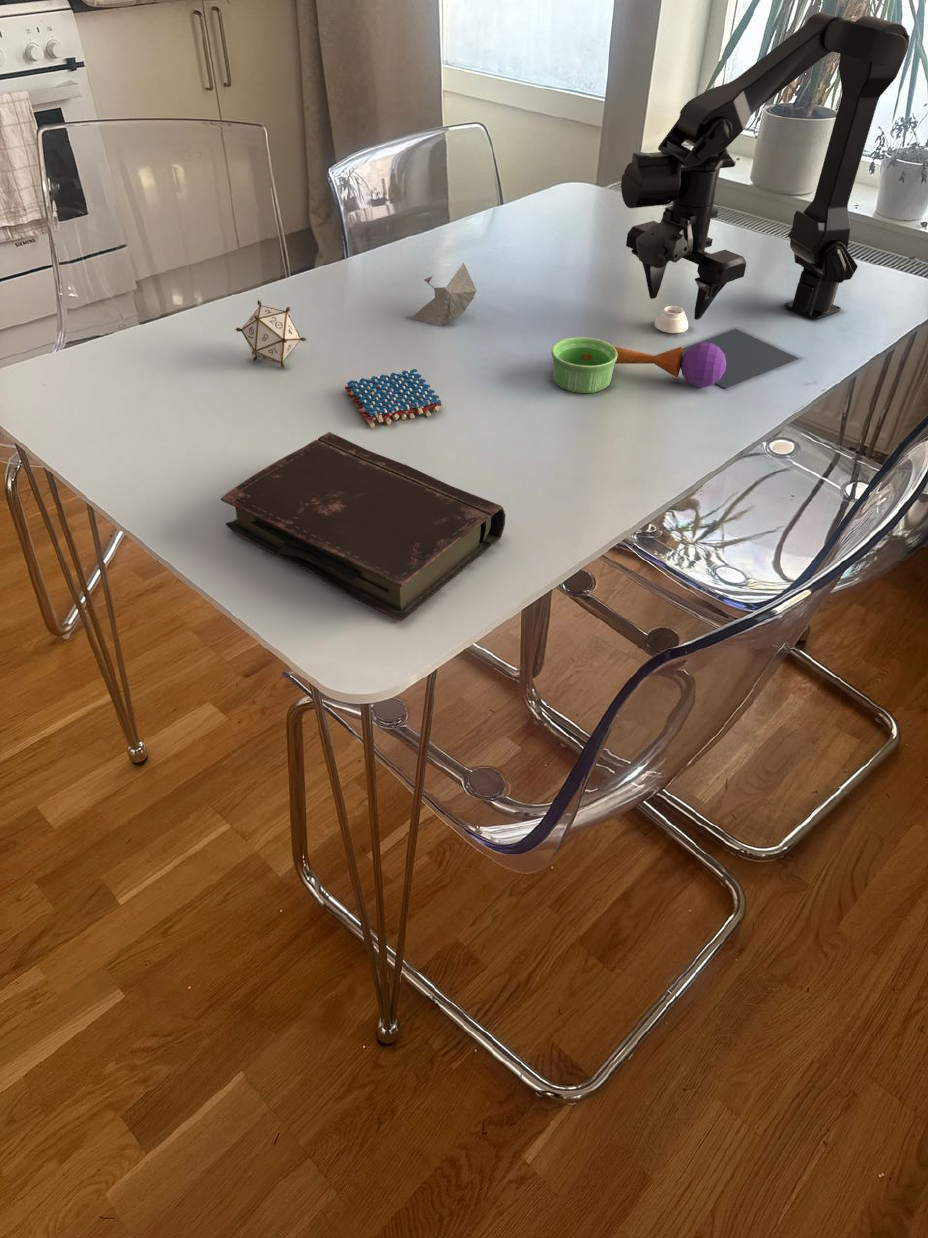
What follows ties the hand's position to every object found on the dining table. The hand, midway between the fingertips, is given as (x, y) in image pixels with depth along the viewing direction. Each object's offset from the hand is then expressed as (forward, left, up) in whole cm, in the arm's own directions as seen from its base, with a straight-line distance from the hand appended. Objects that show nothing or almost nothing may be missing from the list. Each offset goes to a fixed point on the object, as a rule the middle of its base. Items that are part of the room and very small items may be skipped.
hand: (674, 308), depth 142 cm
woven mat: (+48, -5, -3) cm, 48 cm away
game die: (+55, -25, -3) cm, 61 cm away
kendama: (+14, +9, -3) cm, 17 cm away
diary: (+67, +18, -3) cm, 69 cm away
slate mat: (0, +12, -3) cm, 12 cm away
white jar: (0, 0, -3) cm, 3 cm away
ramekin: (+23, +5, -3) cm, 24 cm away
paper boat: (+25, -24, -3) cm, 35 cm away
